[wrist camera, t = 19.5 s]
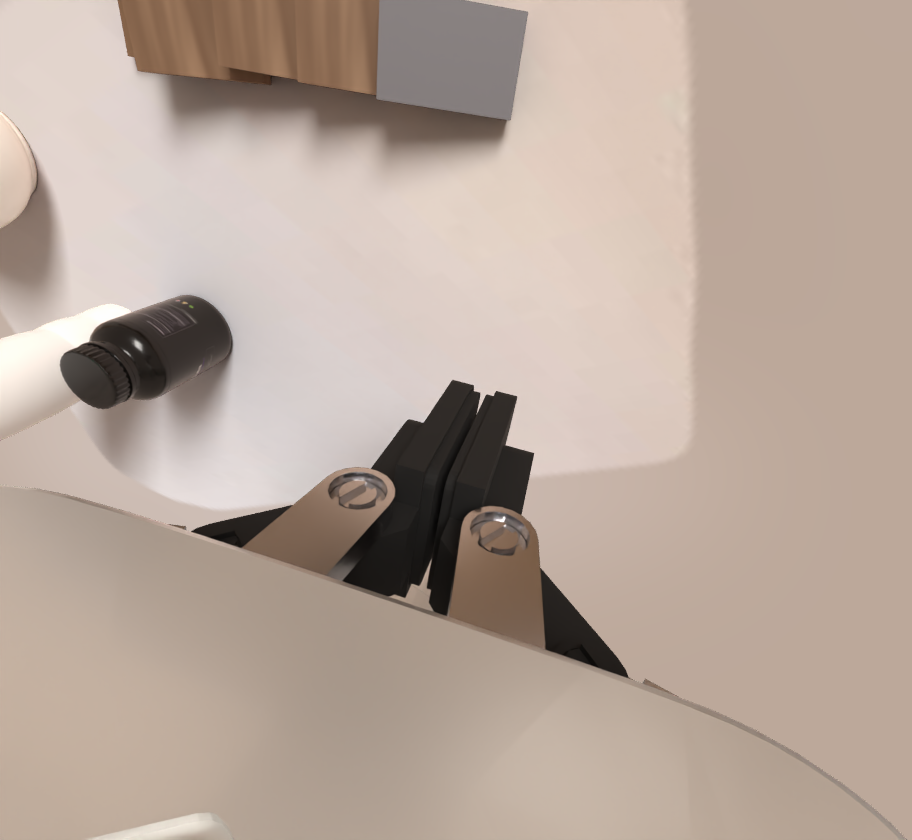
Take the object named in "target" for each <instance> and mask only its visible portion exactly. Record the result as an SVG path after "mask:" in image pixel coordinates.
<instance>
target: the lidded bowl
mask: <svg viewBox="0 0 912 840" xmlns="http://www.w3.org/2000/svg"><path fill="white" fill-rule="evenodd" d="M36 185H37V168H36V164H35V160H34V157H33V154H32V152H31V149H30V147H29V145H28V143H27V141H26V140H25V138H24V136H23V135H22V133H21V132H20V130H19V129H18V128H17V127H16V125H15V124H14V123H13V122H12V121H11V120H10V119H9V118H8V117H7V116H6V115H5V114H4V113H2V112H1V111H0V228H3V227H5V226H6V225H8V224H9V223H10V222H12V221H13V220H15V219H16V218H17V217H18V216H19V215H20V214H21V213H22V211H23V210H24V209H25V208H26V205H27V203H28V201H29V198H30V195H31V194H32V193H33V192H34V191H35V188H36Z"/></svg>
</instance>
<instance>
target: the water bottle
mask: <svg viewBox="0 0 912 840" xmlns="http://www.w3.org/2000/svg"><path fill="white" fill-rule="evenodd" d="M131 312H132V311H130V310H128V309H127V308H125V307H122V306H119V305H116V304H104V305H101V306H97V307H94V308H91V309H89V310H86V311H84V312H82V313H80V314H78V315H76V316H73V317H67V318H62V319H58V320H55V321H52V322H49V323H47V324H44V325H42V326H40V327H38V328H37V329H35V330H32V331H28V332H23V333H19V334H15V335H11V336H8V337H4V338H0V441H1V440H3V439H5V438H8V437H10V436H12V435H14V434H17V433H19V432H21V431H23V430H25V429H27V428H29V427H31V426H33V425H35V424H37V423H39V422H41V421H43V420H45V419H47V418H49V417H51V416H53V415H55V414H57V413H59V412H61V411H63V410H64V409H66V408H68V407H70V406H72V405H73V404H75V403H77V402H78V401H80V400H81V399H80V398H78V397H77V396H76V394H74V393H73V392H72V390H71V389H70V388H69V387H68V385H67V383H66V382H65V380H64V378H63V376H62V373H61V371H60V360H61V356H63V354H64V353H65V352H67V351H69V350H71V349H74V348H77V347H79V346H80V345H81V344H84V343H86V342H89V339H90V336H91V334H92V332H93V331H94V329H95V328H96V327H97V326H98V325H100V324H101V323H104V322H106V321H108V320H111V319H114V318H117V317H120V316H122V315H125V314H128V313H131Z"/></svg>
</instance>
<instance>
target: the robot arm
mask: <svg viewBox="0 0 912 840" xmlns="http://www.w3.org/2000/svg"><path fill="white" fill-rule="evenodd" d="M479 400H480V393H479V392H475V391H474V385H470V384H466V383H463V382H459V381H455V380H452V381H451V383H450V384H449V386H448V387H447V389H446V390H445V392H444V393H443V395H442V396H441V398H440V399H439V401H438V402H437V404H436V405H435V407H434V408H433V410H432V411H431V413H430V414H429V416H428V417H427V419H426V420H425V422H424V423H421V422H418V421H414V420H407V421H406V422H405V424H404V425H403V426H402V428H401V429H400V430H399V432H398V433H397V434H396V436H395V437H394V438H393V440H392V441H391V442H390V444H389V445H388V446H387V448H386V449H385V450H384V452H383V453H382V455H381V456H380V457H379V459H378V460H377V461H376V463H375V464H374V465H373V467H372V468H371V469H369V468H361V467H353V468H345V469H342V470H339V471H336V472H334V473H332V474H331V475H329V476H327V477H326V478H325V479H324V480H323V481H321V482H320V483H319V484H318V485H317V486H315V487H314V488H313V489H312V490H311V491H309V492H308V493H307V494H306V495H305V496H303V497H302V498H301V499H300V500H299V501H297V502H296V503H295V504H294V505H291V506H286V507H282V508H278V509H273V510H269V511H264V512H260V513H255V514H251V515H247V516H243V517H238V518H233V519H229V520H225V521H220V522H216V523H212V524H208V525H205V526H202V527H199V528H196V529H195V530H193V531H191V532H190V531H187V530H186V526H179V525H171V524H165V523H162V522H159V521H156V520H152V519H149V518H146V517H143V516H140V515H136V514H133V513H131V512H127V511H124V510H120V509H116V508H113V507H110V506H106V505H102V504H99V503H95V502H92V501H88V500H85V499H81V498H78V497H74V496H70V495H66V494H61V493H56V492H51V491H46V490H41V489H36V488H26V487H17V486H7V485H0V840H907V839H906V838H905V837H904V836H903V835H902V834H901V833H900V832H899V831H898V830H897V829H896V828H895V827H894V825H892V823H890V822H889V821H888V820H887V819H886V818H884V817H883V816H882V815H881V814H880V813H879V812H878V811H876V810H875V809H874V808H873V807H872V806H871V805H869V804H868V803H867V802H866V801H865V800H863V799H862V798H861V797H859V796H858V795H857V794H856V793H854V792H853V791H851V790H850V789H849V788H848V787H847V786H845V785H844V784H843V783H841V782H840V781H838V780H837V779H835V778H834V777H832V776H831V775H829V774H828V773H826V772H825V771H823V770H822V769H820V768H819V767H817V766H816V765H814V764H813V763H811V762H810V761H809V760H807V759H805V758H804V757H802V756H801V755H800V754H798V753H796V752H794V751H793V750H791V749H789V748H787V747H785V746H784V745H781V744H780V743H778V742H776V741H775V740H773V739H771V738H769V737H767V736H766V735H764V734H762V733H760V732H758V731H757V730H754V729H753V728H751V727H748V726H746V725H744V724H742V723H740V722H737V721H735V720H733V719H731V718H729V717H727V716H724V715H722V714H720V713H718V712H716V711H714V710H711V709H709V708H706V707H703V706H701V705H698V704H695V703H693V702H690V701H688V700H685V699H682V698H680V697H678V696H676V695H674V694H672V693H671V692H669V691H667V690H665V689H663V688H661V687H660V686H658V685H656V684H654V683H652V682H650V681H649V680H647V679H645V680H644V682H643V683H640V682H637V681H635V680H633V679H630V678H629V677H628V675H627V672H626V670H625V668H624V667H623V665H622V664H621V662H620V661H619V659H618V658H617V657H616V655H615V654H614V653H613V652H612V651H611V650H610V648H609V647H608V646H607V645H606V644H605V643H604V641H603V640H602V639H601V638H600V637H599V636H598V634H597V633H596V632H595V631H594V630H593V629H592V627H591V626H590V625H589V624H588V623H587V622H586V620H585V619H584V618H583V617H582V616H581V615H580V614H579V612H578V611H577V610H576V609H575V608H574V606H573V605H572V604H571V603H570V602H569V601H568V599H567V598H566V597H565V596H564V595H563V594H562V593H561V591H560V590H559V589H558V588H557V587H556V586H555V584H554V583H553V582H552V581H551V580H550V578H549V577H548V576H547V575H546V574H545V573H544V571H542V569H541V568H540V557H539V542H538V537H537V533H536V531H535V529H534V528H533V526H532V525H531V523H530V522H529V521H528V520H526V519H525V518H524V517H523V516H522V515H521V514H522V509H523V505H524V500H525V495H526V490H527V485H528V481H529V476H530V471H531V466H532V461H533V456H534V453H532V452H528V451H524V450H521V449H517V448H513V447H509V446H506V445H505V444H506V440H507V436H508V432H509V428H510V424H511V420H512V416H513V412H514V408H515V404H516V400H517V396H513V395H509V394H506V393H502V392H498V391H496V392H495V395H494V396H490V395H486V396H485V398H484V401H483V403H482V405H481V407H480V409H479V411H478V413H477V409H478V404H479ZM476 414H477V415H476Z"/></svg>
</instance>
